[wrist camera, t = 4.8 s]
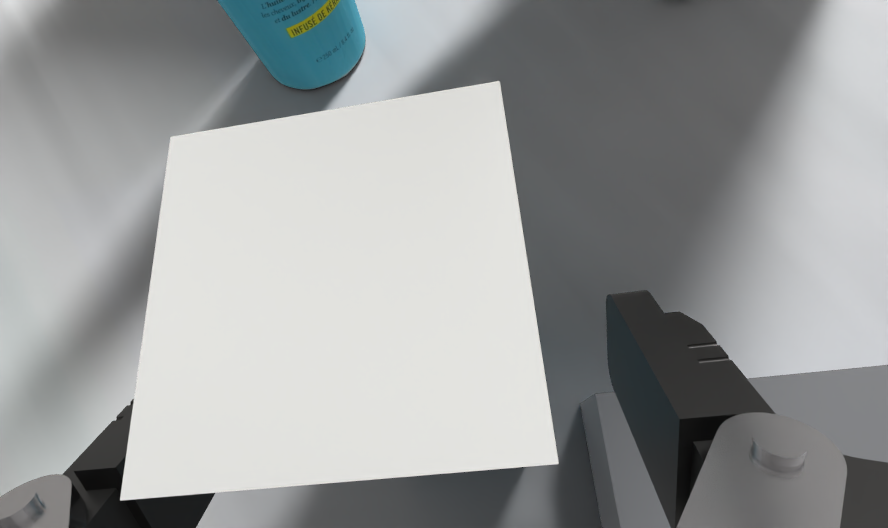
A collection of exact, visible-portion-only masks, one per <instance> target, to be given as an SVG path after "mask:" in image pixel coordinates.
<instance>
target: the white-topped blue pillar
mask: <svg viewBox="0 0 888 528" xmlns="http://www.w3.org/2000/svg"><path fill="white" fill-rule="evenodd" d="M554 464H559V462H558V455H557V449H556V443H555V436H554V430H553V423H552V417H551V410H550V404H549V397H548V391H547V384H546V378H545V371H544V365H543V358H542V352H541V345H540V339H539V332H538V326H537V319H536V313H535V306H534V300H533V294H532V287H531V281H530V274H529V268H528V261H527V255H526V248H525V242H524V235H523V229H522V222H521V216H520V209H519V203H518V196H517V190H516V183H515V177H514V170H513V164H512V157H511V151H510V144H509V138H508V132H507V125H506V119H505V112H504V106H503V99H502V93H501V86H500V81H496V82H490V83H484V84H478V85H472V86H466V87H460V88H455V89H449V90H443V91H437V92H431V93H425V94H419V95H413V96H407V97H401V98H396V99H390V100H384V101H378V102H372V103H366V104H360V105H354V106H348V107H343V108H337V109H331V110H325V111H319V112H313V113H307V114H301V115H295V116H289V117H284V118H278V119H272V120H266V121H260V122H254V123H248V124H242V125H236V126H231V127H225V128H219V129H213V130H207V131H201V132H195V133H189V134H183V135H177V136H172V137H170V144H169V151H168V158H167V166H166V173H165V180H164V187H163V194H162V201H161V209H160V216H159V223H158V230H157V237H156V245H155V252H154V259H153V266H152V273H151V280H150V288H149V295H148V302H147V309H146V316H145V323H144V331H143V338H142V345H141V352H140V359H139V366H138V374H137V381H136V388H135V395H134V402H133V410H132V417H131V424H130V431H129V438H128V445H127V453H126V460H125V467H124V474H123V481H122V488H121V496H120V501H121V500H133V499H145V498H157V497H169V496H181V495H193V494H205V493H217V492H229V491H241V490H253V489H265V488H277V487H289V486H301V485H313V484H325V483H337V482H349V481H361V480H373V479H385V478H397V477H409V476H421V475H433V474H445V473H457V472H469V471H481V470H493V469H505V468H517V467H530V466H542V465H554Z"/></svg>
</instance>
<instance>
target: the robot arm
mask: <svg viewBox="0 0 888 528" xmlns="http://www.w3.org/2000/svg"><path fill="white" fill-rule="evenodd" d="M606 319H607V351H608V366H609V373H610V378H611V382H612V386H613V389H614V391H615V394H616V396H617V399H618V401H619V404H620V406H621V408H622V411H623V413H624V416H625V418H626V420H627V423H628V425H629V428H630V430H631V433H632V435H633V437H634V440H635V442H636V445H637V447H638V450H639V452H640V454H641V457H642V459H643V462H644V464H645V466H646V469H647V471H648V474H649V476H650V479H651V481H652V483H653V486H654V488H655V491H656V493H657V495H658V498H659V500H660V503H661V505H662V508H663V510H664V512H665V515H666V517H667V520H668V522H669V525H670V527H671V528H888V462H881V461H874V460H867V459H861V458H856V457H851V456H847V455H844V454H842V453H841V451H840V450H839V449H838V448H837V447H836V445H835V444H834V443H833V442H832V441H831V440H829V439H828V438H827V437H826V436H825V435H823V434H822V433H820V432H819V431H817V430H816V429H814V428H812V427H810V426H809V425H807V424H804V423H802V422H800V421H797V420H795V419H792V418H789V417H785V416H781V415H777V414H775V412H774V411H773V410H772V409H771V408H770V406H769V405H768V404H767V403H766V402H765V400H764V399H763V398H762V397H761V395H760V394H759V393H758V392H757V391H756V389H755V388H754V387H753V386H752V384H751V383H750V382H749V381H748V380H747V378H746V377H745V376H744V375H743V373H742V372H741V371H740V370H739V369H738V367H737V366H736V365H735V364H734V362H733V361H732V360H729V358H728V355H727V354H726V353H725V352H724V350H723V349H722V348H721V347H720V345H717V342H716V341H715V339H714V338H713V337H712V336H711V334H710V333H709V332H708V331H707V330H706V328H705V327H704V326H703V325H702V324H700V323H699V322H697V321H695V320H693V319H692V318H690V317H688V316H686V315H685V314H683V313H681V312H672V313H664V312H663V311H662V310H661V308H660V307H659V305H658V304H657V303H656V301H655V300H654V298H653V297H652V296H651V294H650V293H649V292H648V291H647V290H644V291H635V292H627V293H618V294H610V295H608V296H607V300H606ZM133 402H134V399H133V400H132V401H131V405H129V406H126V407H125V408H124V409H123V411H122V412H121V413H120V414H119V415H118V416H117V420H116V421H112V422H111V423H110V424H109V425H108V427H107V428H106V429H105V430H104V431H103V432H102V433H101V434H100V435H99V436H98V437H97V438H96V439H95V440H94V441H93V443H92V444H91V445H90V446H89V447H88V448H87V449H86V450H85V451H84V452H83V453H82V454H81V455H80V456H79V457H78V459H77V460H76V461H75V462H74V463H73V464H72V465H71V466H70V467H69V468H68V469H67V470H66V471H65V472H64V473H63V475H59V474H55V475H48V476H43V477H40V478H37V479H34V480H31V481H29V482H27V483H24V484H22V485H20V486H18V487H16V488H14V489H13V490H11V491H9V492H8V493H6V494H4V495H3V496H1V497H0V528H196V526H197V525H198V523H199V521H200V519H201V518H202V516H203V514H204V512H205V510H206V509H207V507H208V505H209V503H210V502H211V500H212V498H213V496H214V494H215V493H205V494H193V495H181V496H169V497H157V498H145V499H133V500H121V501H120V496H121V488H122V481H123V474H124V467H125V460H126V453H127V445H128V438H129V431H130V424H131V417H132V410H133Z"/></svg>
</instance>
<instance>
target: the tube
mask: <svg viewBox="0 0 888 528" xmlns="http://www.w3.org/2000/svg"><path fill="white" fill-rule="evenodd" d="M217 1H218V2H219V4H220V5H221V6H222V8H223V9H224V10H225V12H226V13H227V15H228V16H229V17H230V19H231V20H232V21H233V23H234V24H235V26H236V27H237V28H238V30H239V31H240V32H241V34H242V35H243V37H244V38H245V39H246V41H247V42H248V43H249V45H250V46H251V48H252V49H253V50H254V52H255V53H256V54H257V56H258V57H259V58H260V60H261V61H262V63H263V64H264V65H265V67H266V68H267V69H268V71H269V72H270V73H271V75H272V76H273V77H274V78H275V79H276V80H277V81H279V82H280V83H281V84H284V85H286V86H288V87H292V88H296V89H314V88H318V87H321V86H324V85H327V84H329V83H332V82H334V81H336V80H338V79H340V78H342V77H344V76H345V75H347V74H348V73H349V72H350V71H351V69H352V68H353V67H354V66H355V65H356V64H357V62H358V61H359V59H360V57H361V55H362V53H363V50H364V47H365V32H364V27H363V24H362V21H361V18H360V15H359V12H358V9H357V6H356V3H355V0H217Z"/></svg>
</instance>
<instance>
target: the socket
mask: <svg viewBox="0 0 888 528" xmlns="http://www.w3.org/2000/svg"><path fill="white" fill-rule="evenodd" d="M747 380H748V381H749V382H750V383H751V384H752V386H753V387H754V388H755V389H756V391H757V392H758V393H759V394H760V395H761V397H762V398H763V399H764V400H765V402H766V403H767V404H768V405H769V406H770V408H771V409H772V410H773V411H774V412H775V414H777V415H781V416H785V417H789V418H792V419H795V420H797V421H800V422H802V423H804V424H807V425H809V426H810V427H812V428H814V429H816V430H817V431H819V432H820V433H822V434H823V435H825V436H826V437H827V438H828V439H829V440H831V441H832V442H833V443H834V444H835V445H836V447H837V448H838V449H839V450H840V451H841V453H842V454H844V455H847V456H851V457H856V458H861V459H867V460H874V461H881V462H888V365H882V366H872V367H862V368H852V369H841V370H831V371H821V372H811V373H800V374H790V375H780V376H770V377H760V378H749V379H747ZM580 406H581V412H582V417H583V423H584V429H585V434H586V440H587V446H588V451H589V457H590V463H591V468H592V474H593V480H594V485H595V491H596V497H597V502H598V508H599V514H600V520H601V525H602V528H671V527H670V525H669V522H668V520H667V517H666V515H665V512H664V510H663V508H662V505H661V503H660V500H659V498H658V495H657V493H656V491H655V488H654V486H653V483H652V481H651V479H650V476H649V474H648V471H647V469H646V466H645V464H644V462H643V459H642V457H641V454H640V452H639V450H638V447H637V445H636V442H635V440H634V437H633V435H632V433H631V430H630V428H629V425H628V423H627V420H626V418H625V416H624V413H623V411H622V408H621V406H620V404H619V401H618V399H617V396H616V394H615V392H607V393H596V394H594V395H592V396H591V397H589V398H588V399H586V400H585V401H583V402H582V403H580Z"/></svg>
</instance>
